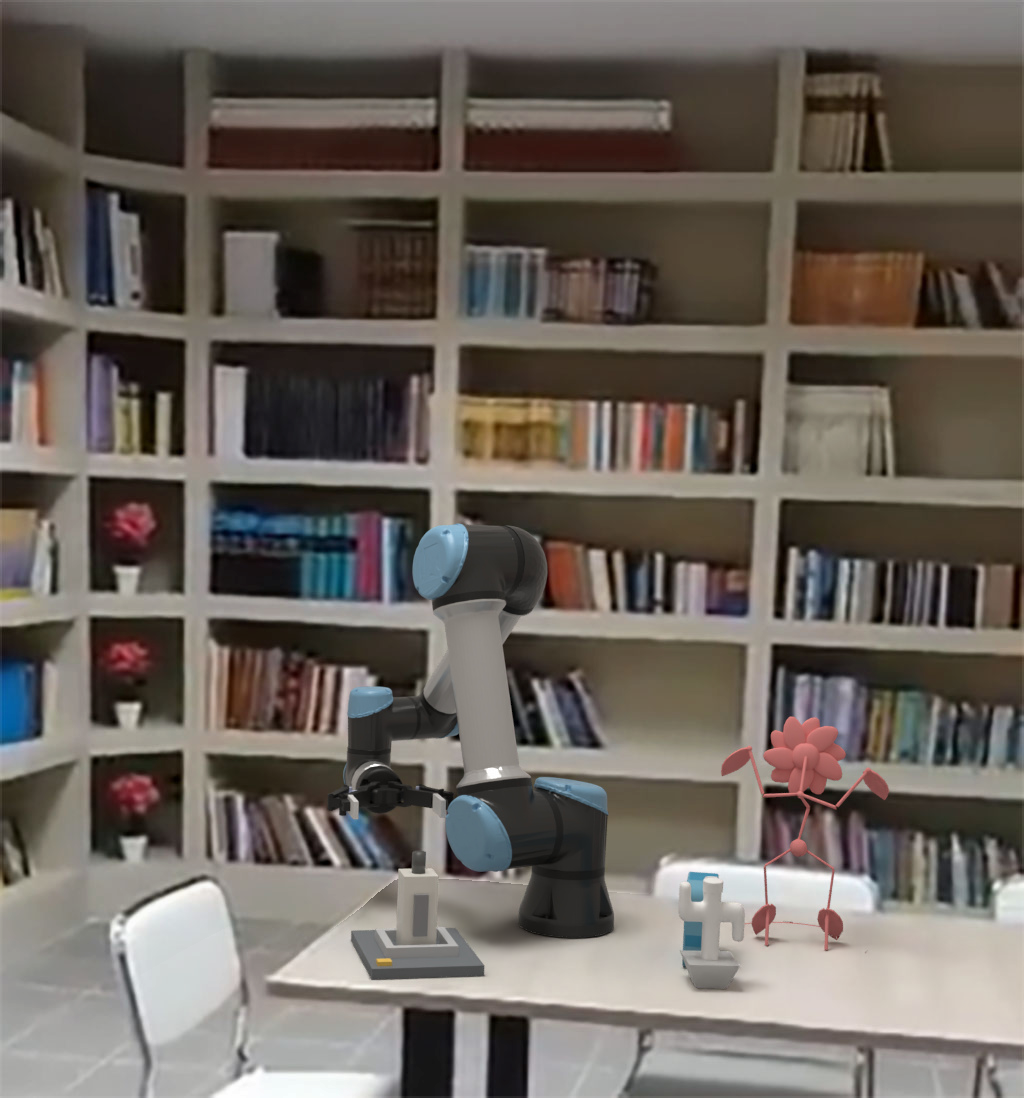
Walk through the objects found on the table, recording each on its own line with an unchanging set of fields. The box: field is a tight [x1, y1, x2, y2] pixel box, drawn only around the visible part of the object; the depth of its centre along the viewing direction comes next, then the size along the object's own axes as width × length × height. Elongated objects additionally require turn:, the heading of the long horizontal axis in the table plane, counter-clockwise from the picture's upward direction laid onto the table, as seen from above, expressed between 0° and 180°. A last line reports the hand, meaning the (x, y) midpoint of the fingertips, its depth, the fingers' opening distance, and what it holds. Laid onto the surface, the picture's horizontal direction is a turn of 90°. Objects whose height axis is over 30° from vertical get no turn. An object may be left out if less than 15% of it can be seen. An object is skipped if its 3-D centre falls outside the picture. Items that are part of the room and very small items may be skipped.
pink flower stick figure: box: [720, 716, 890, 954], centre depth 260 cm, size 15×26×35 cm, turn 81°
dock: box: [350, 926, 485, 981], centre depth 241 cm, size 16×20×3 cm
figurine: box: [678, 876, 746, 989], centre depth 234 cm, size 7×9×15 cm
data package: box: [681, 871, 720, 968], centre depth 246 cm, size 12×4×12 cm, turn 171°
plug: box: [395, 850, 440, 945], centre depth 241 cm, size 5×6×14 cm
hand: (400, 809), depth 254 cm, fingers open, 13 cm apart
